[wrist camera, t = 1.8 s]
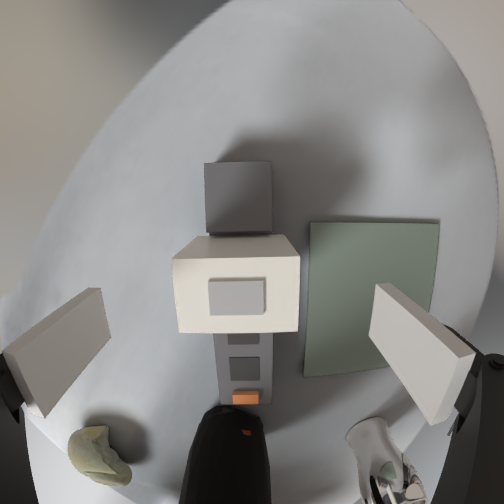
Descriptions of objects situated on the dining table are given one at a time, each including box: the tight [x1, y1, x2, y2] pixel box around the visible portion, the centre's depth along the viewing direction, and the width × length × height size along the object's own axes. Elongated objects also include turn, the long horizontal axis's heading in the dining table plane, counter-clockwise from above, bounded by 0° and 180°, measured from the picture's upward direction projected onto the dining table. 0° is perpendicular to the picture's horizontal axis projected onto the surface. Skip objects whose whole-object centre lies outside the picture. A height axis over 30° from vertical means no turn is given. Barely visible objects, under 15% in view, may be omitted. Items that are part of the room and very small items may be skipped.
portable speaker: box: [179, 406, 271, 504], centre depth 21 cm, size 8×9×19 cm
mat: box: [303, 222, 439, 377], centre depth 26 cm, size 16×14×1 cm
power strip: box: [204, 161, 273, 405], centre depth 24 cm, size 22×5×4 cm, turn 1°
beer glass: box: [346, 417, 428, 504], centre depth 23 cm, size 7×7×15 cm
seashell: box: [68, 426, 132, 487], centre depth 28 cm, size 13×8×10 cm
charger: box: [171, 234, 300, 333], centre depth 19 cm, size 4×7×8 cm, turn 91°
